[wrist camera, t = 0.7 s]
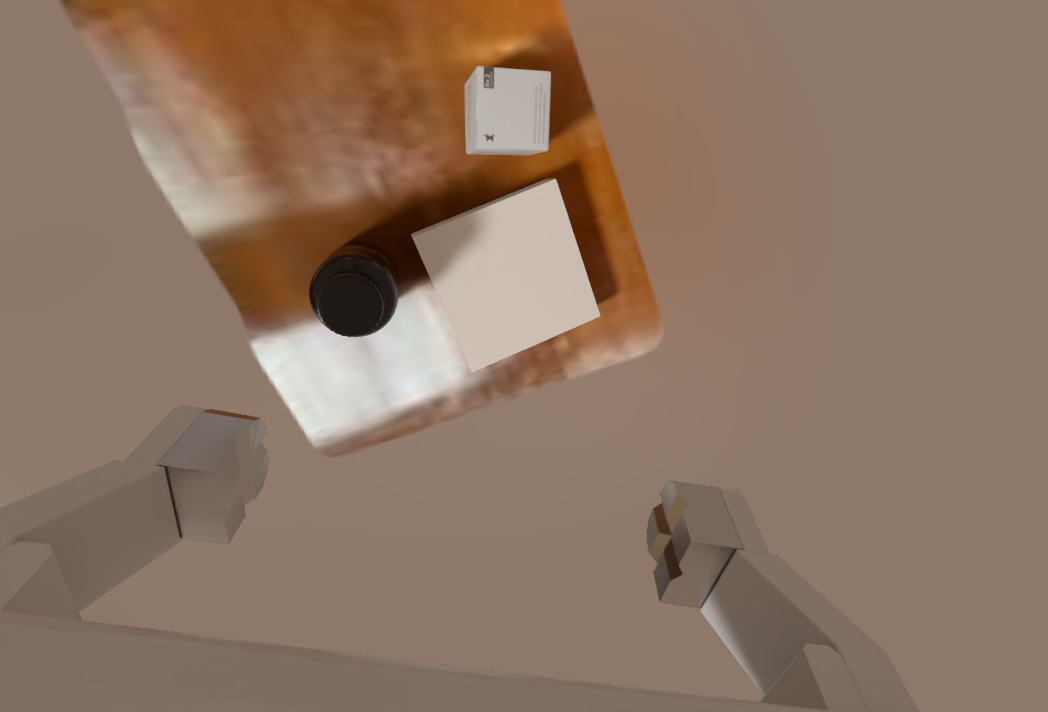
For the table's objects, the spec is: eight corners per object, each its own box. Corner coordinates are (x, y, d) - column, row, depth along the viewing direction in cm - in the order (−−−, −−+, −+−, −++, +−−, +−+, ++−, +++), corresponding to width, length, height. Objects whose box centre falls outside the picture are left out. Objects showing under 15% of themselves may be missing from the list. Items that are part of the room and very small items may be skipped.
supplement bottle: (386, 233, 50) (384, 249, 39) (406, 303, 52) (410, 337, 41) (310, 251, 49) (287, 272, 38) (335, 321, 51) (320, 361, 40)
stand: (410, 233, 50) (412, 237, 48) (547, 178, 52) (555, 178, 49) (467, 362, 56) (472, 372, 53) (590, 309, 57) (600, 316, 54)
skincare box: (529, 156, 51) (550, 152, 44) (464, 154, 49) (476, 150, 43) (530, 84, 49) (552, 69, 42) (463, 80, 48) (475, 64, 41)
